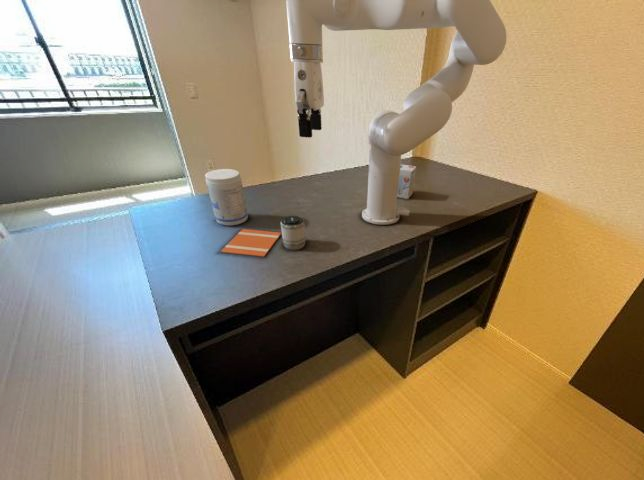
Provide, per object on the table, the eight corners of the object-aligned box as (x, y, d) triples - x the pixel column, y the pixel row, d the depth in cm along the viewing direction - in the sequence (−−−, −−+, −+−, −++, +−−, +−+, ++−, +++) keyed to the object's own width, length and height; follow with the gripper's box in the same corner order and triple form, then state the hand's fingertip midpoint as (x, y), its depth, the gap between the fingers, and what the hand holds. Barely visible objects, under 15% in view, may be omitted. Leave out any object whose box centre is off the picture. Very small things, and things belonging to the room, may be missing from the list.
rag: (281, 233, 88) (281, 232, 88) (264, 257, 78) (264, 255, 78) (243, 229, 89) (242, 228, 89) (220, 252, 79) (220, 251, 79)
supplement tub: (210, 219, 94) (197, 173, 85) (238, 210, 100) (228, 166, 91) (227, 229, 89) (215, 181, 80) (254, 219, 95) (246, 173, 86)
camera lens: (285, 252, 80) (282, 225, 76) (281, 241, 85) (278, 215, 80) (308, 248, 82) (306, 222, 78) (303, 237, 87) (301, 212, 82)
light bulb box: (382, 194, 116) (384, 166, 110) (387, 189, 121) (389, 162, 115) (408, 199, 113) (412, 171, 107) (413, 193, 118) (416, 166, 112)
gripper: (312, 54, 63) (316, 141, 73) (330, 55, 77) (331, 128, 87) (278, 53, 64) (286, 139, 73) (302, 54, 78) (306, 126, 87)
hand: (311, 133), depth 80 cm, fingers open, 9 cm apart
